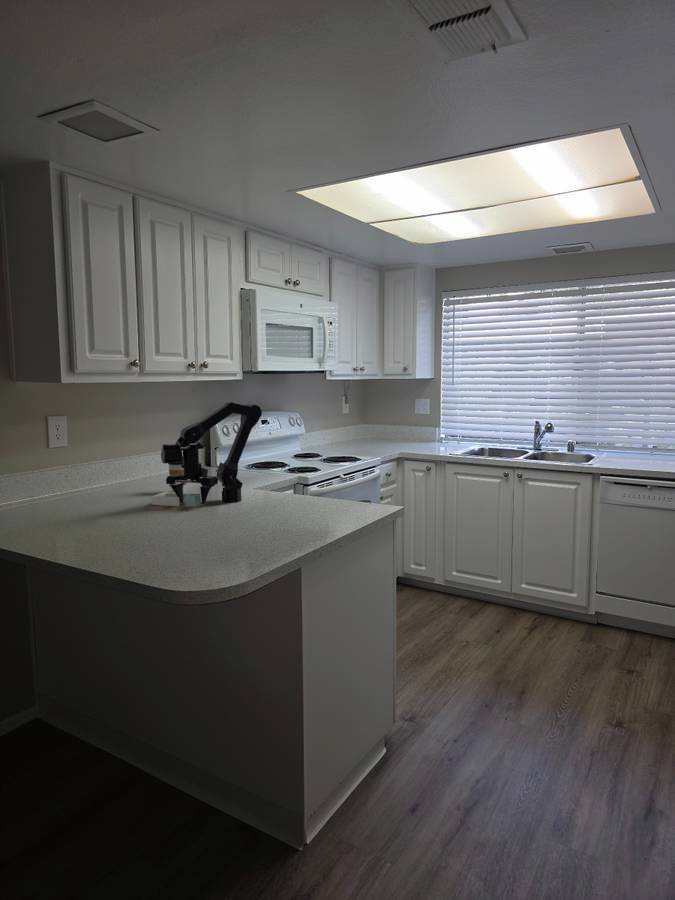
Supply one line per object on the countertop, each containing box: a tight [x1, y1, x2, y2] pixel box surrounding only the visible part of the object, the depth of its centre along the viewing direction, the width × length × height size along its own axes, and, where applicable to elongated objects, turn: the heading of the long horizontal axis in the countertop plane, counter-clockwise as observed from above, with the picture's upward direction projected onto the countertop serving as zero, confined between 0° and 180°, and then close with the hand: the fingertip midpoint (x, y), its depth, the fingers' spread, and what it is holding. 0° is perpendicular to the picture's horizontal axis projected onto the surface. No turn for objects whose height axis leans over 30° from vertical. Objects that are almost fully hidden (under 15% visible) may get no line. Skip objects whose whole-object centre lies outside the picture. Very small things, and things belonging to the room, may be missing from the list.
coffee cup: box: [167, 456, 188, 493], centre depth 258 cm, size 8×8×15 cm
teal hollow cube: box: [184, 493, 202, 507], centre depth 229 cm, size 4×4×4 cm
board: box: [143, 502, 208, 513], centre depth 228 cm, size 18×14×1 cm
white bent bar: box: [151, 491, 190, 506], centre depth 231 cm, size 11×8×3 cm
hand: (192, 503), depth 229 cm, fingers open, 9 cm apart
